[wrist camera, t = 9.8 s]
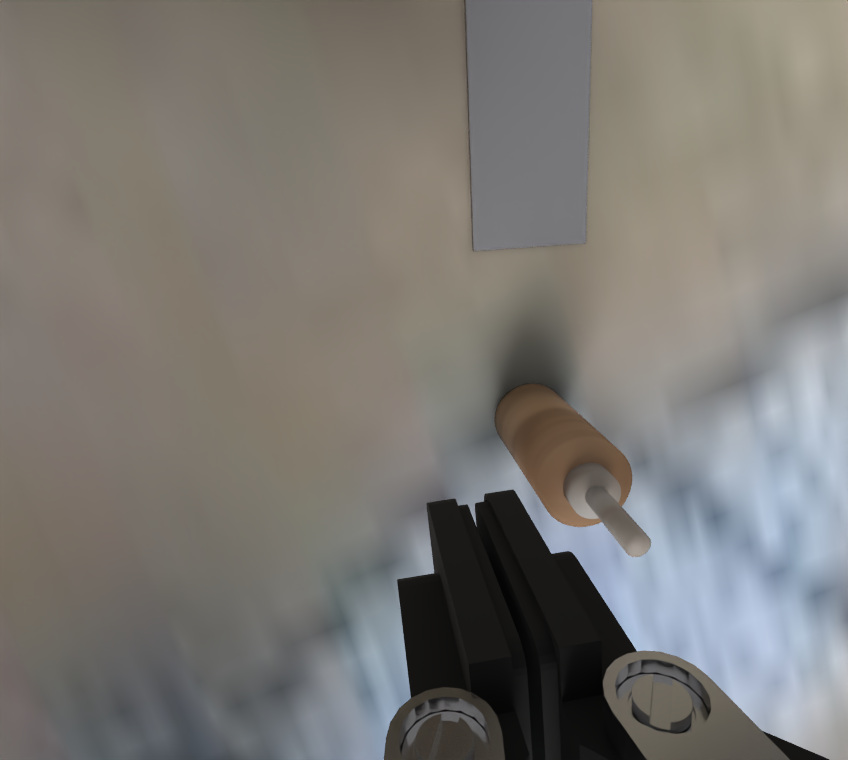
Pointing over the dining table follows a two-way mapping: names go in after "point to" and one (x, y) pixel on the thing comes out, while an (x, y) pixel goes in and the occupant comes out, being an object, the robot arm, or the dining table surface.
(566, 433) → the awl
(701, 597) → the dining table surface
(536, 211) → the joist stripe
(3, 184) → the dining table surface
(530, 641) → the robot arm
